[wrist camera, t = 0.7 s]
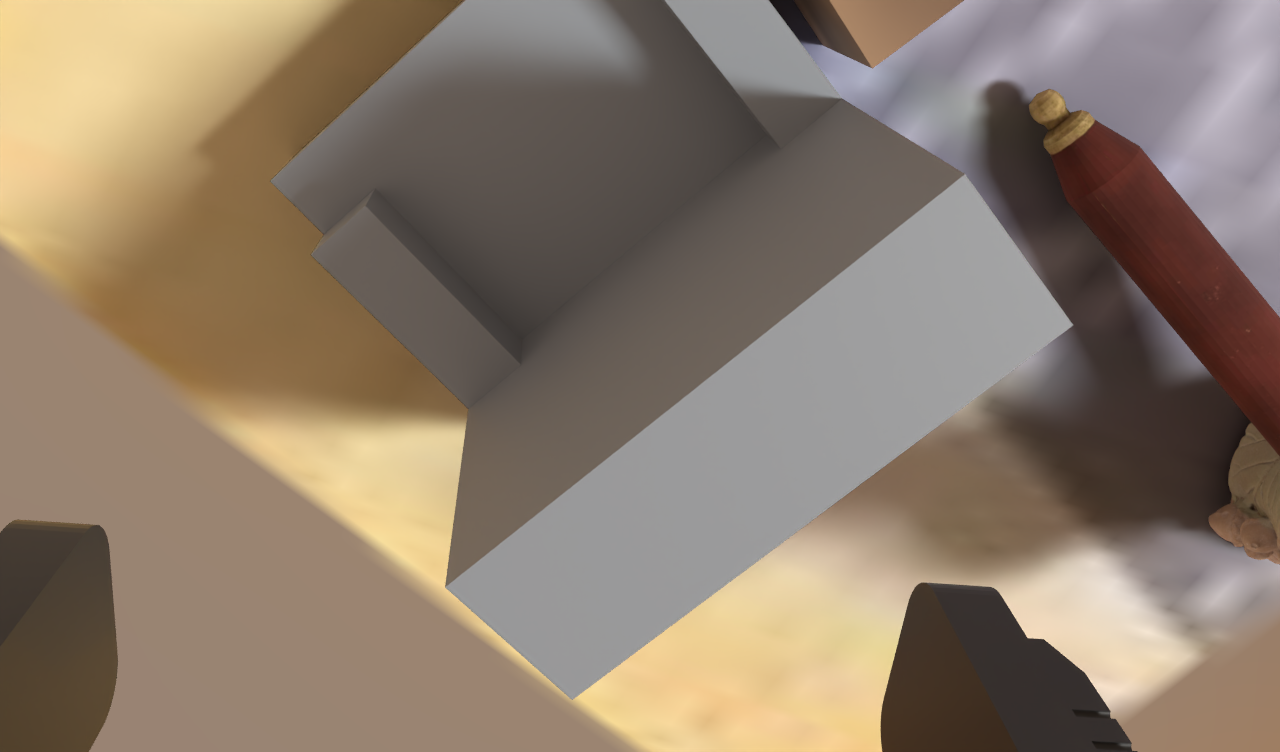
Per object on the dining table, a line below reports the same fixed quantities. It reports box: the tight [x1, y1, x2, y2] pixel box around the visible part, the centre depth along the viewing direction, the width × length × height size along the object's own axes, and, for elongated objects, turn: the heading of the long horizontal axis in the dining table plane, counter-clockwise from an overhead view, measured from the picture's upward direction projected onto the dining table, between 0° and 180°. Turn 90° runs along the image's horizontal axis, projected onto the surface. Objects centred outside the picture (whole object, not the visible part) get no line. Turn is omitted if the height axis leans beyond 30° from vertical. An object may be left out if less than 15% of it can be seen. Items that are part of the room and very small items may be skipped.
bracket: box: [270, 0, 1073, 700], centre depth 28 cm, size 13×12×14 cm
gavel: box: [1029, 89, 1280, 456], centre depth 35 cm, size 21×5×10 cm, turn 42°
